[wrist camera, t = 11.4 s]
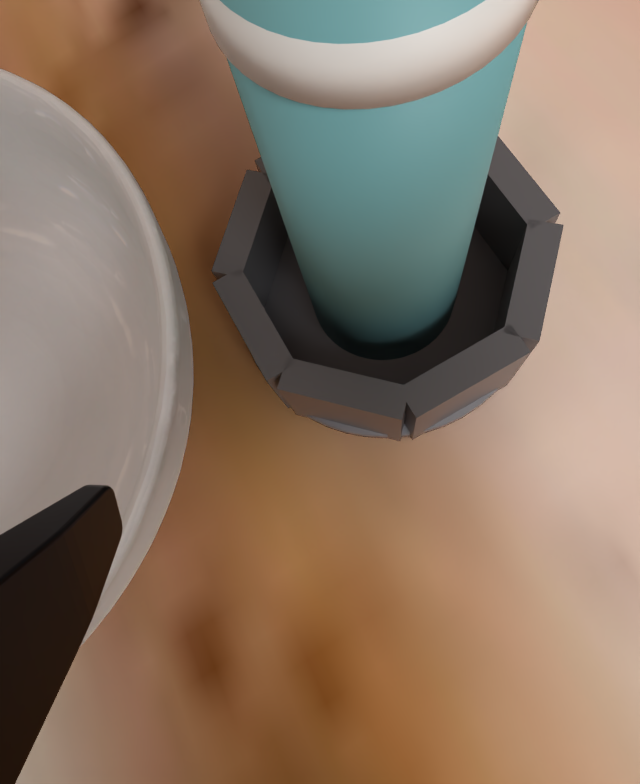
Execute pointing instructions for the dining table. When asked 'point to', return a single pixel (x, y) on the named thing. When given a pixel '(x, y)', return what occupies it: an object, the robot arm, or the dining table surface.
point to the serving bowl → (85, 329)
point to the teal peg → (375, 146)
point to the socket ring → (421, 369)
